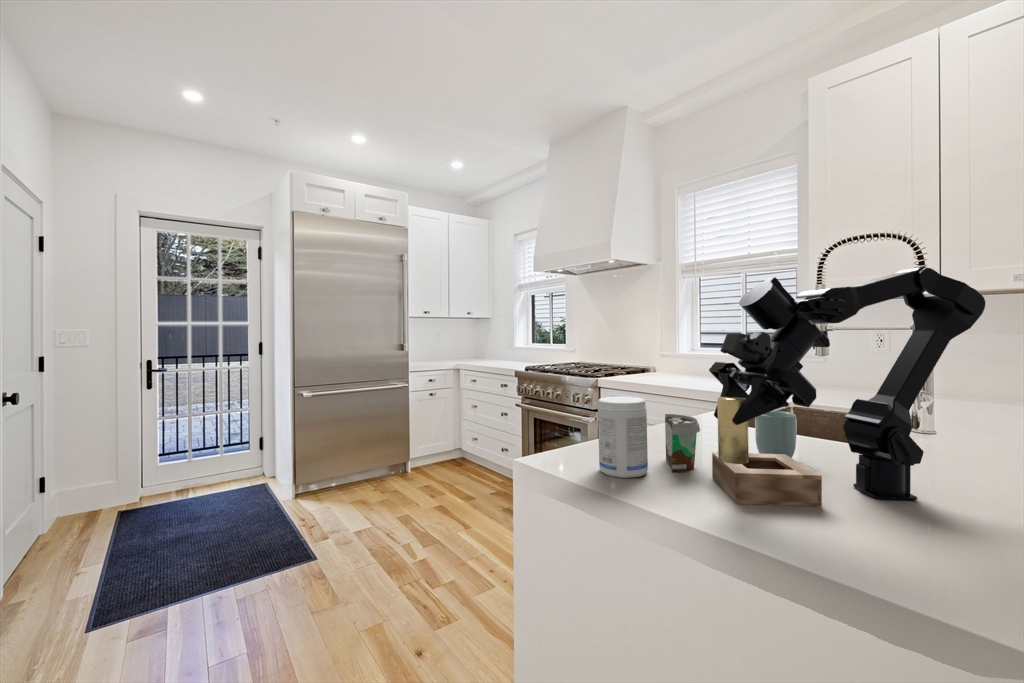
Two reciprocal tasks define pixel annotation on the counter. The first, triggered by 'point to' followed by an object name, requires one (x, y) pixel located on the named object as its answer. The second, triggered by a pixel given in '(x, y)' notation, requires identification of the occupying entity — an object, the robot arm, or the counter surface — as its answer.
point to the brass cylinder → (731, 432)
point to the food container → (680, 442)
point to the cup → (776, 433)
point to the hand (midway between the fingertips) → (724, 420)
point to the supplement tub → (622, 436)
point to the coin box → (768, 481)
